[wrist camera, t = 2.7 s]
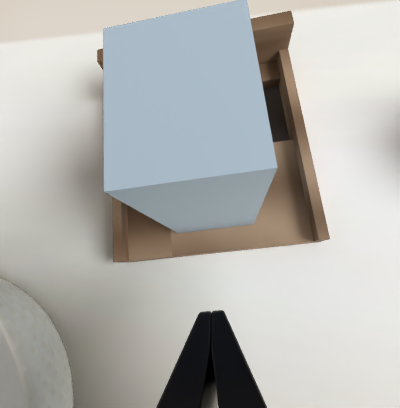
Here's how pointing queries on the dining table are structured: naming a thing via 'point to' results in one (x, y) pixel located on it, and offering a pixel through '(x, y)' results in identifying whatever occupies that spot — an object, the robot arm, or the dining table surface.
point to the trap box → (279, 188)
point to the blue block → (187, 118)
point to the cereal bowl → (30, 355)
